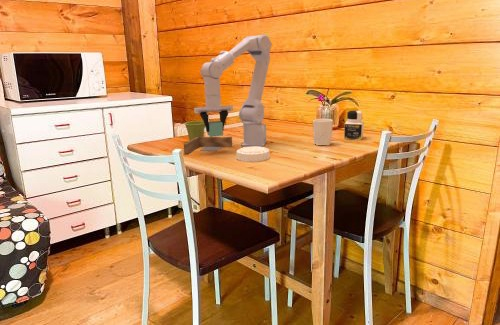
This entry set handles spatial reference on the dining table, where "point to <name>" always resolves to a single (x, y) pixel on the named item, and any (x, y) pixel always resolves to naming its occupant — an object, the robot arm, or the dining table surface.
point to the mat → (210, 149)
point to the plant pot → (195, 129)
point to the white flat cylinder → (253, 154)
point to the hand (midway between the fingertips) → (214, 131)
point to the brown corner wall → (207, 143)
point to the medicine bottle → (354, 126)
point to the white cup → (322, 131)
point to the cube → (215, 128)
